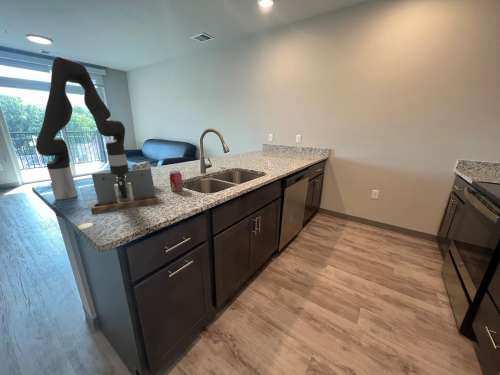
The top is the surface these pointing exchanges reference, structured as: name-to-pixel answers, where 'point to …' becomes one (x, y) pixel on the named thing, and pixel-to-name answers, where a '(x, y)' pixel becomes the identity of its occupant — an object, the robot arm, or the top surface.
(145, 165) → the candy bar box
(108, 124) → the robot arm
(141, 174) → the wall panel
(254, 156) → the top surface
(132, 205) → the notched ledge
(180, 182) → the soda can
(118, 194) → the picture frame
